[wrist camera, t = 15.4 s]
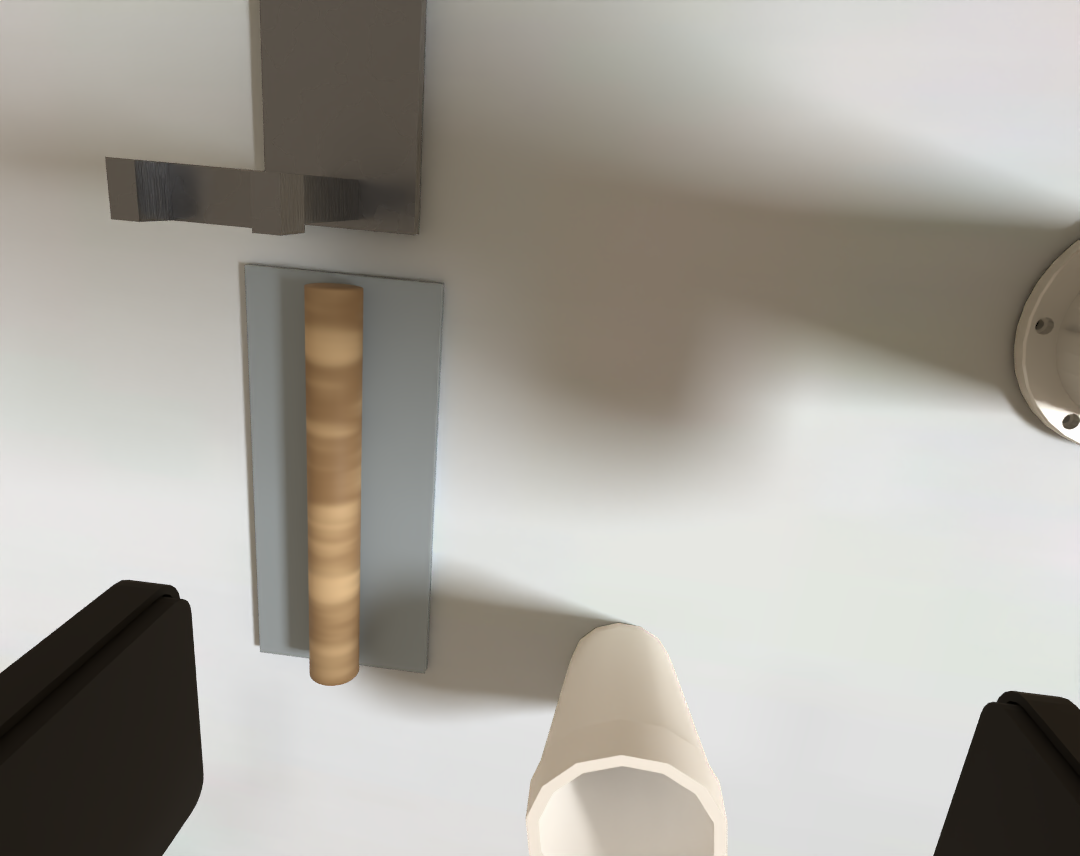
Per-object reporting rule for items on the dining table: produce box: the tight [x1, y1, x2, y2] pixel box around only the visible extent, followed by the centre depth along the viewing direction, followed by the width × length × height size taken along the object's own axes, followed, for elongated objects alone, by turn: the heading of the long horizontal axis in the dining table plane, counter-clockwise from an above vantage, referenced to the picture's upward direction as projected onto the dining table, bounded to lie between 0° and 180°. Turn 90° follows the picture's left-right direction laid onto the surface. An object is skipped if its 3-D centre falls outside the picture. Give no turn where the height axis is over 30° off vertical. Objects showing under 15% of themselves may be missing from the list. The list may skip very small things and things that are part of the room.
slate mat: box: [245, 264, 444, 673], centre depth 43 cm, size 11×25×1 cm, turn 175°
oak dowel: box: [304, 283, 363, 686], centre depth 41 cm, size 24×3×3 cm, turn 175°
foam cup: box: [526, 623, 727, 856], centre depth 40 cm, size 10×9×13 cm
